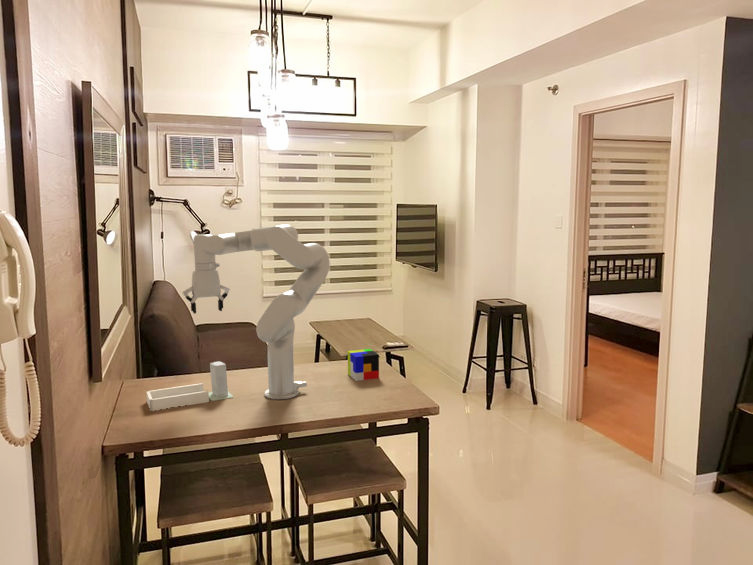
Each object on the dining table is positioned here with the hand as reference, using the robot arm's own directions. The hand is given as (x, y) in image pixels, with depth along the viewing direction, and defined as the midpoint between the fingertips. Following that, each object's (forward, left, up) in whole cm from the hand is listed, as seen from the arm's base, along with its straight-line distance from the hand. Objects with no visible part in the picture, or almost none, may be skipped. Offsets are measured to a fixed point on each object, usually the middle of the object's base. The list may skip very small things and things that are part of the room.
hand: (207, 311), depth 226 cm
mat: (-1, +10, -30) cm, 32 cm away
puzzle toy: (-59, +14, -31) cm, 68 cm away
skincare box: (-1, +10, -30) cm, 32 cm away
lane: (+14, +10, -30) cm, 35 cm away
